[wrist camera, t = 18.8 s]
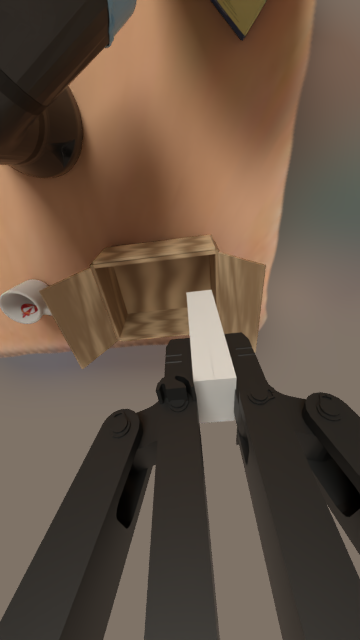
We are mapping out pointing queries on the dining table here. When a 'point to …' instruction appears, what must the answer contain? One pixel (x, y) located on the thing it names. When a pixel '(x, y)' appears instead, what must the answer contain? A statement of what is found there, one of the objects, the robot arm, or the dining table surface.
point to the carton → (155, 284)
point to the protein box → (239, 13)
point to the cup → (25, 302)
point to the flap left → (80, 316)
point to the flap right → (240, 295)
